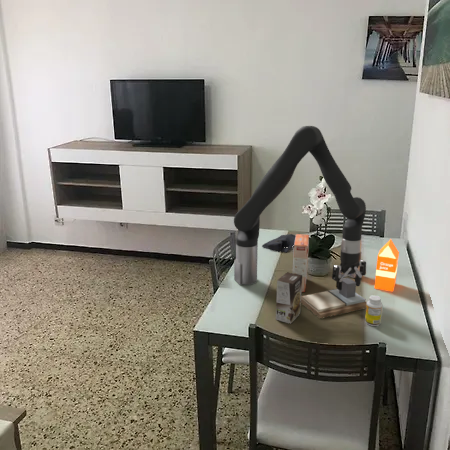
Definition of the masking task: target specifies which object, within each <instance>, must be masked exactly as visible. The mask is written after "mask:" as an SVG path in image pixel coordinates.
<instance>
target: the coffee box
mask: <svg viewBox="0 0 450 450" xmlns="http://www.w3.org/2000/svg"><path fill="white" fill-rule="evenodd" d="M301 290H302V275H299V274H294V273H293V272H289V271H286V272H285V273H284V274H283V275H282V276H281V277H279V278H278V279H277V281H276V301H275V302H276V305H275V320H277V321H278V322H279V321H280V322H283V323H285V324H289V323H290V324H292V323H293V322H294V321H295V320H296V319H297V318H298V317H299V316H300V315H301V311H302V310H301V307H302V304H301V296H302V292H301ZM299 314H300V315H299ZM290 324H289V325H290Z"/></svg>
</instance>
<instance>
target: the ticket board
mask: <svg viewBox="0 0 450 450" xmlns="http://www.w3.org/2000/svg"><path fill="white" fill-rule="evenodd" d="M334 289H335V288H332V290H334ZM329 290H330V289H329ZM329 290H328V289H327V290H324V291H319V292H315V293H309V294H304V295H301V303H302V304H301V305H302V306H304V305H305V306H306V307H307V308H306V307H305V306H304V307H305V308H306V309H308V311H310V310H311V311H312V312H313V313H312V312H311V311H310V312H311V313H312V314H313V315H315V316H316V315H317V316H318V317H319V318H318V317H317V316H316V317H317V318H318V319H320V318H322V319H324V318H323V317H326V318H328V317H327V316H330V317H332V316H331V315H334V316H337V315H336V314H339V315H342V314H341V313H343V314H347V313H351V312H350V311H352V312H356V311H360V310H363V309H364V310H366V304H367V301H365V302H361V303H356V304H352V305H348V306H347V305H346V303H345V302H344V301H342V300H341V299H339V298H338V297H337V296H335V295H334V294H332V293H331V292H330V291H329ZM355 310H356V311H355ZM346 312H347V313H346Z"/></svg>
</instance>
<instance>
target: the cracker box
mask: <svg viewBox="0 0 450 450" xmlns="http://www.w3.org/2000/svg"><path fill="white" fill-rule="evenodd" d="M295 236H296V237H295V243H294V247H293V257H292V273H294V274H299V275H302V290H301V293H305V292H306V284H307V277H308V276H307V275H308V266H309V265H308V262H309V249H310V247H309V246H310V235H309V234H300V233H299V234H298V233H296V234H295Z"/></svg>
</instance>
